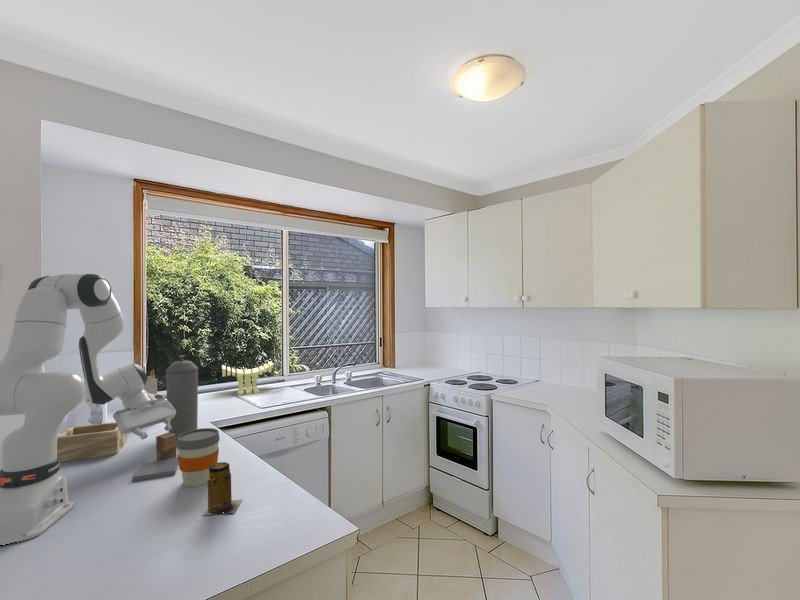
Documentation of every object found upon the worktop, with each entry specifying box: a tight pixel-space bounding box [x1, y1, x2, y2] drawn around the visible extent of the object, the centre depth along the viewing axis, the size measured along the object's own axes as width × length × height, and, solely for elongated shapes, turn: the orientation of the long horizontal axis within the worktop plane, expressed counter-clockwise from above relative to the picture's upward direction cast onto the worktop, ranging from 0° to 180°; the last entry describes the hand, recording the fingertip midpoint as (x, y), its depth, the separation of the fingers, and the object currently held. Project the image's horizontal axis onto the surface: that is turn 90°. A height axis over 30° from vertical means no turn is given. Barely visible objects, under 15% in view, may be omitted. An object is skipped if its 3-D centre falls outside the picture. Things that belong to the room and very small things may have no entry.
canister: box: [165, 354, 199, 439], centre depth 170 cm, size 13×13×35 cm
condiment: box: [202, 461, 243, 516], centre depth 109 cm, size 7×8×12 cm
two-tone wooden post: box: [144, 369, 158, 395], centre depth 191 cm, size 8×12×26 cm
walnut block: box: [155, 432, 177, 461], centre depth 143 cm, size 4×4×9 cm
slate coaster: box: [132, 456, 179, 482], centre depth 134 cm, size 12×12×2 cm
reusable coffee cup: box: [176, 427, 221, 487], centre depth 126 cm, size 13×13×15 cm
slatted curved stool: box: [221, 361, 274, 395], centre depth 251 cm, size 30×16×18 cm, turn 114°
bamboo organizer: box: [57, 421, 128, 463], centre depth 152 cm, size 13×18×9 cm
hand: (157, 433), depth 145 cm, fingers open, 8 cm apart
